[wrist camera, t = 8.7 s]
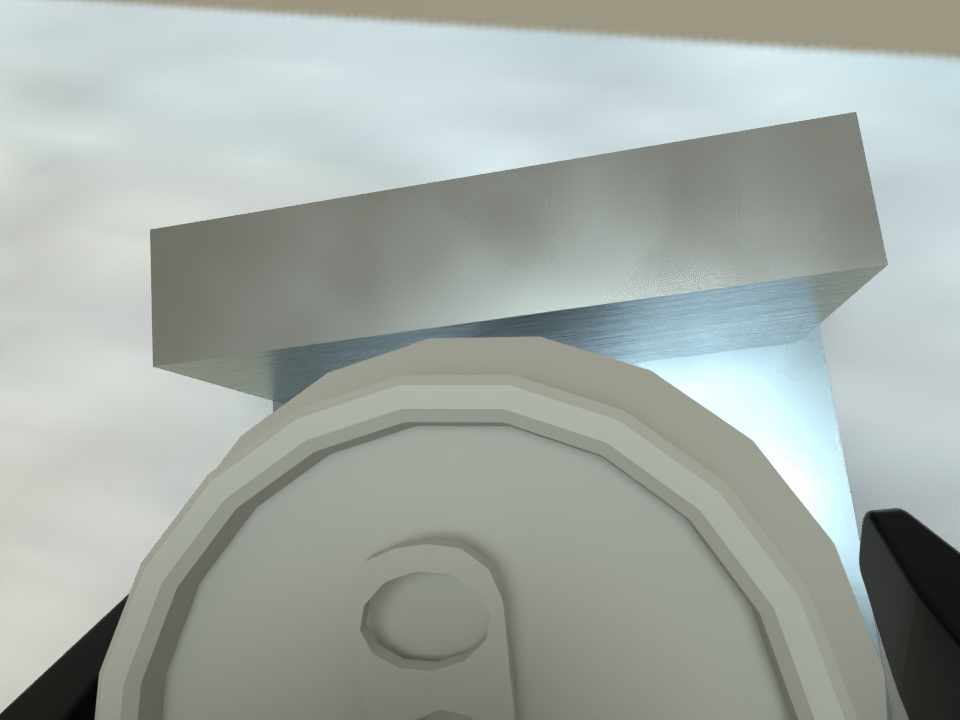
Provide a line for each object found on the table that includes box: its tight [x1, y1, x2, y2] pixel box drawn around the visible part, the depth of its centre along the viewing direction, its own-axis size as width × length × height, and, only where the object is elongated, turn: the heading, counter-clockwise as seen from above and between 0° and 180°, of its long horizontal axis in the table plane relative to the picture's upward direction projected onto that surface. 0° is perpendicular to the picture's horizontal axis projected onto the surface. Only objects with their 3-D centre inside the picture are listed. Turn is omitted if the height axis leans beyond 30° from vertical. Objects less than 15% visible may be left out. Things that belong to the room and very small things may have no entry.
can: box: [95, 337, 887, 720], centre depth 12 cm, size 8×8×12 cm
